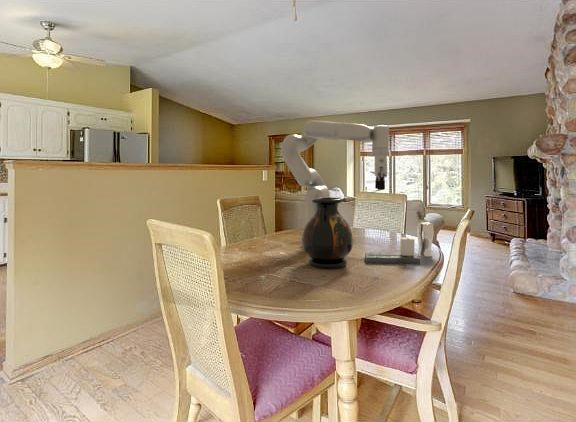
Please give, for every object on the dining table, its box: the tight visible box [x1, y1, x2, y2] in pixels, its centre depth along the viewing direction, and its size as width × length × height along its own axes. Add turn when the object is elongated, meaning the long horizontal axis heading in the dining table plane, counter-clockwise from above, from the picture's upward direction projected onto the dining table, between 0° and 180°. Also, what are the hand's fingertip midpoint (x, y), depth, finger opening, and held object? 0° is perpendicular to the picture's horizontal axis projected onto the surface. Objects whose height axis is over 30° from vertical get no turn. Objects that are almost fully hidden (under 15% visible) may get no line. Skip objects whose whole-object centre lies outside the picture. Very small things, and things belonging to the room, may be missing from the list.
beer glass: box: [416, 221, 435, 258], centre depth 161 cm, size 7×7×15 cm
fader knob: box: [399, 237, 415, 256], centre depth 151 cm, size 5×4×7 cm
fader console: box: [364, 252, 422, 265], centre depth 153 cm, size 22×9×3 cm, turn 82°
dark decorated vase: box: [301, 197, 354, 270], centre depth 148 cm, size 22×22×28 cm
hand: (379, 189), depth 167 cm, fingers open, 9 cm apart
